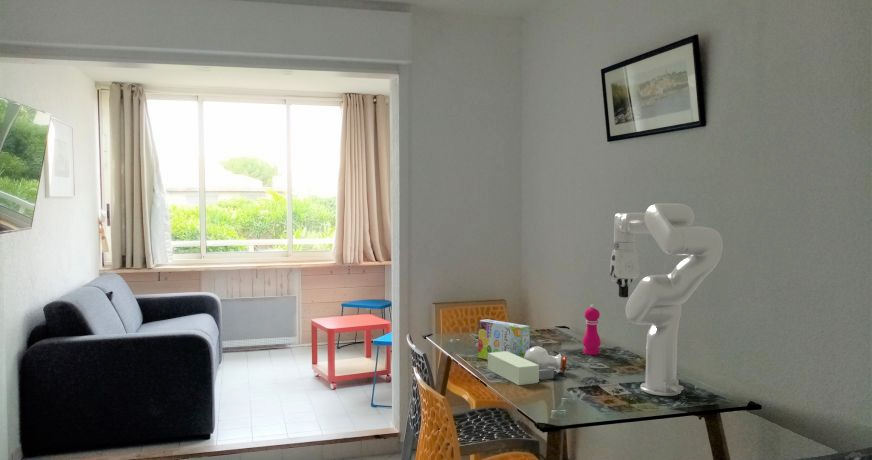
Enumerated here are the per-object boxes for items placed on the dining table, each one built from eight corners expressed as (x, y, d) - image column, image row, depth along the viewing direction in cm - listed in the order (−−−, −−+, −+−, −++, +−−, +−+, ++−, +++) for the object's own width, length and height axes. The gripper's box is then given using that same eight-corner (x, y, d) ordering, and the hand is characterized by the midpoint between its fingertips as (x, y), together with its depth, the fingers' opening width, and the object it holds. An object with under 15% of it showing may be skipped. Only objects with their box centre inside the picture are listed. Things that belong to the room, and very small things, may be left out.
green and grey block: (558, 380, 220) (558, 363, 220) (518, 385, 214) (518, 367, 214) (525, 364, 240) (525, 349, 240) (487, 369, 234) (487, 353, 234)
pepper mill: (601, 355, 255) (601, 306, 255) (582, 354, 257) (583, 305, 256) (600, 351, 263) (600, 303, 262) (582, 350, 264) (582, 302, 263)
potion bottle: (521, 374, 232) (562, 380, 231) (523, 364, 224) (566, 371, 223) (523, 350, 237) (563, 356, 236) (526, 340, 229) (568, 346, 228)
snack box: (530, 365, 241) (530, 325, 240) (521, 367, 236) (522, 327, 236) (486, 355, 255) (486, 318, 254) (477, 358, 251) (477, 320, 250)
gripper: (614, 248, 225) (613, 299, 226) (647, 247, 231) (646, 297, 232) (601, 246, 232) (600, 296, 233) (633, 245, 238) (632, 294, 239)
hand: (623, 296), depth 232 cm, fingers closed
